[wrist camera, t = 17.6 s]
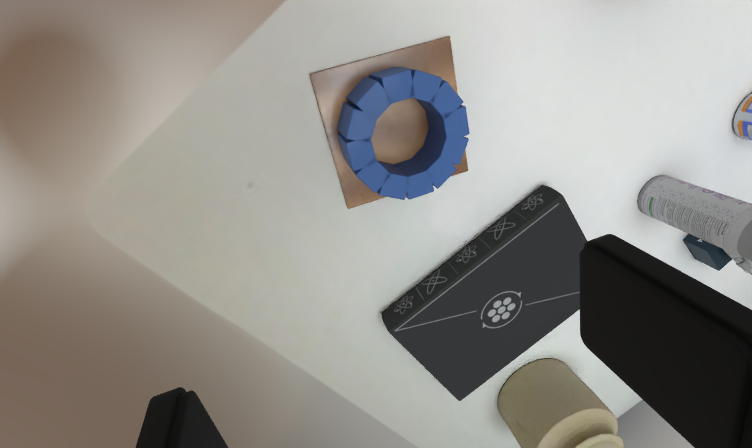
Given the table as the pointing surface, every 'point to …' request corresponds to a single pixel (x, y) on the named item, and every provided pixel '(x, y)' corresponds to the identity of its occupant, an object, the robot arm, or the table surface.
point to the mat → (397, 123)
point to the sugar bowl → (555, 409)
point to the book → (494, 295)
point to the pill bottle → (744, 119)
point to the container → (700, 213)
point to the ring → (440, 141)
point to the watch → (714, 254)
